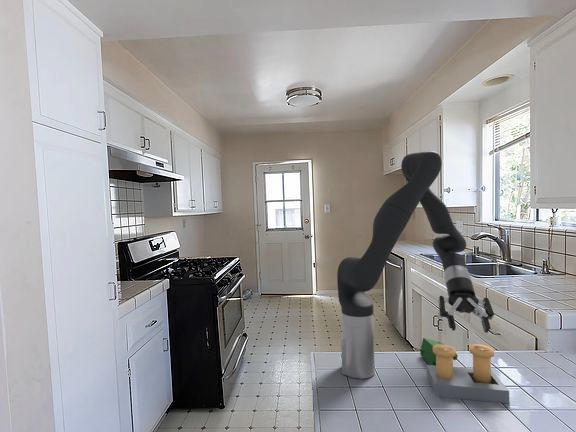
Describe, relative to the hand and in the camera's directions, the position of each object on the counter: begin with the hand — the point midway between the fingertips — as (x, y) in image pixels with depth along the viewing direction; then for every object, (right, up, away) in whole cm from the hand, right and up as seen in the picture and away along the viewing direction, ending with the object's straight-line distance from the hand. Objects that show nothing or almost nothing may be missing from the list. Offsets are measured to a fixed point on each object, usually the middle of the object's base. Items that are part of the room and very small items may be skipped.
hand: (470, 330), depth 93 cm
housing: (-6, -12, -9) cm, 16 cm away
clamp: (-6, -13, +7) cm, 16 cm away
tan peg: (-2, -12, -9) cm, 15 cm away
